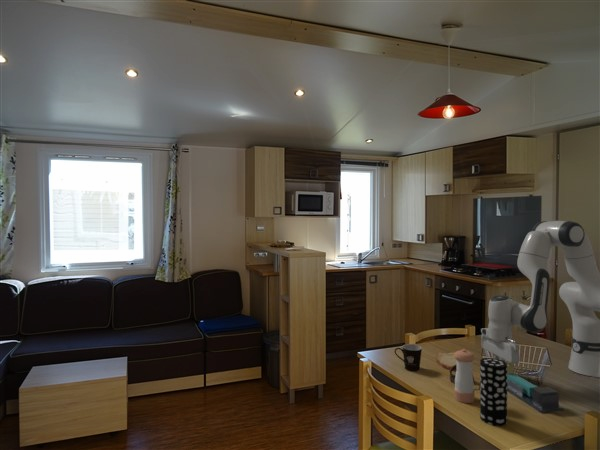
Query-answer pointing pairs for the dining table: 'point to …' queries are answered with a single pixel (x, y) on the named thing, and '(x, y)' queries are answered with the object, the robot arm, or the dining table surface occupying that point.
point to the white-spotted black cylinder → (493, 391)
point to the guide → (537, 397)
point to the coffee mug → (411, 356)
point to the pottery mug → (452, 377)
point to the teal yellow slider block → (519, 380)
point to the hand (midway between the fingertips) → (499, 366)
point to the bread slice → (446, 360)
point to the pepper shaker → (464, 377)
